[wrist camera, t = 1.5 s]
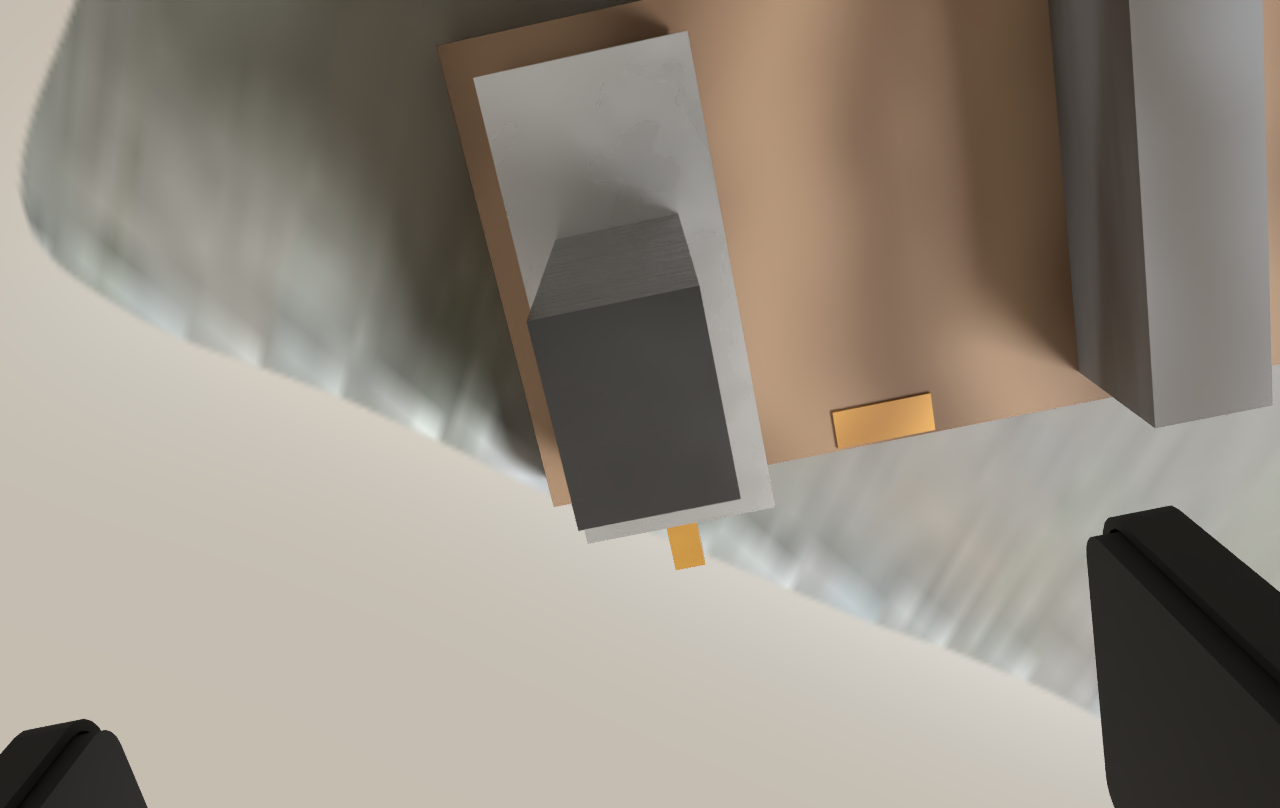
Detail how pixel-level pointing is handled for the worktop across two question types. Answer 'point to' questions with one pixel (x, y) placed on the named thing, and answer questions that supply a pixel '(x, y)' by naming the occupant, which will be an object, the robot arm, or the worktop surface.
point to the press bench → (959, 204)
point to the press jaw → (629, 289)
